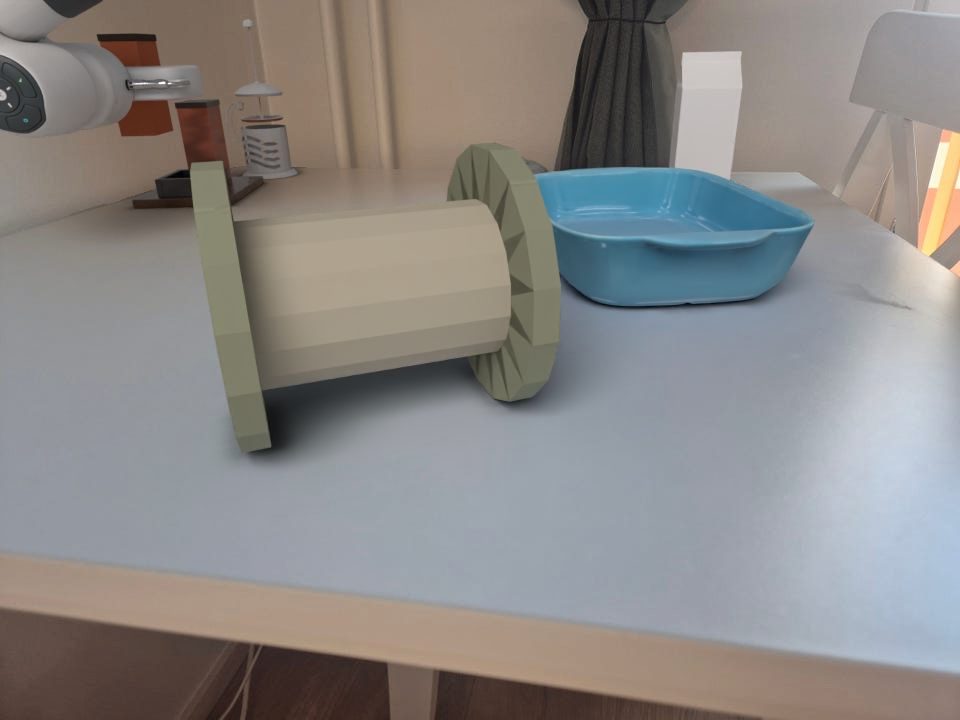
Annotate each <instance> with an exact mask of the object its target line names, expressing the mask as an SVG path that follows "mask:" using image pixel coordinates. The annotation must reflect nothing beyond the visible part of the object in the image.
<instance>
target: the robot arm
mask: <svg viewBox="0 0 960 720" xmlns="http://www.w3.org/2000/svg"><path fill="white" fill-rule="evenodd" d="M102 2H104V0H0V132H2V133H5V134H8V135H11V136H15V137H20V138H30V139H32V138H33V139H36V138H37V139H38V138H51V137H52V138H53V137H59V136H64V135H65V136H66V135H70V134H74V133H76V132H78V131H88V130H93V129H94V130H95V129H97V128H103V127H107V126H112V125H114V124H116V123H117V124H118V121H120V120H121V119H123V118H124V117H125V116H126V114H127V113H128V112H129V110H130V108H131V105H132V101H155V100H168V101H177V100H186V99H187V100H189V99H194V98H201V97H203V95H204V92H205V91H204V90H205V89H204V83H203V77H202V72H201V70H200V68H199V66H198V65H192V64H180V65H179V64H177V65H161V66H124V65H123V64H122V63H121V61H120V60H119V59H118V58H117V57H116V56H115V55H113V54H112V53H111V52H109V51H108V50H106V49H105V48H103V47H101V46H100V45H98V44H94V43H89V42H56V41H53V40H52V39H50V37H48V35H49V34H50V33H52V32H53V31H55V30H56V29H57V28H58V27H60V26H61V25H62V24H64V23H66V22H67V21H69V20H70V19H74V18H76V17H78V16H80V15H82V13H85V12H87V11H88V10H90V9H92V8H93V7H95V6H97V5H99V4H100V3H102Z"/></svg>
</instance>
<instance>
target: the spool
mask: <svg viewBox="0 0 960 720" xmlns="http://www.w3.org/2000/svg"><path fill="white" fill-rule="evenodd" d="M521 157H522V156H521V155H520V153H519V152H518V150H517V149H516V148H514V147H510V146H507V145H504V144H502V143H498V142H484V143H471V144H469V146H468V147H466V148H465V149H464V150H463V152H462V153H461V154H459V155H458V157H456V159H455V163H454V166H453V169H452V173H451V176H450V178H449V181H448V182H449V183H448V185H447V192H446V201H439V202H438V201H437V202H428V203H426V202H425V203H417V204H406V205H396V206H385V207H375V208H374V207H373V208H363V209H352V210H341V211H330V212H320V213H319V212H318V213H309V214H297V215H288V216H277V217H267V218H266V217H265V218H255V219H245V220H234V219H235V218H234V214H233V207H232V205H231V202H230V197H229V191H228V186H227V180H226V175H225V170H224V165H223V161H213V162H197V163H191V169H190V177H191V187H192V197H193V207H192V208H193V215H194V220H195V229H196V234H197V235H196V236H197V240H198V247H199V255H200V261H201V268H202V274H203V280H204V285H205V291H206V298H207V302H208V308H209V315H210V319H211V326H212V331H213V337H214V341H215V347H216V352H217V358H218V363H219V368H220V372H221V377H222V383H223V388H224V391H225V397H226V401H227V405H228V411H229V414H230V418H231V423H232V426H233V427H232V428H233V430H234V435H235V439H236V441H237V444H238V447H239V450H240V452H241V453H242V454H243V453H250V452H255V451H259V450H264V449H269V448H272V440H271V433H270V428H269V420H268V413H267V408H266V402H265V398H264V397H265V396H264V391H269V390H273V389H279V388H285V387H292V386H298V385H304V384H309V383H315V382H322V381H326V380H327V381H328V380H335V379H340V378H346V377H350V376H351V377H352V376H356V375H364V374H369V373H376V372H380V371H387V370H394V369H399V368H400V369H401V368H405V367H412V366H417V365H423V364H429V363H435V362H440V361H447V360H454V359H458V358H459V359H460V358H465V357H466V358H467V360H468V362H469V365H470V367H471V370H472V372H473V374H474V376H475V378H476V380H477V381H478V382H479V384H480V385H481V386H482V387H483V389H484V390H485V391H486V392H487V393H488V394H489V396H490V397H491V398H492V399H495V400H499V401H503V402H515V401H519V400H524V399H525V400H526V399H530V398H533V397H534V396H536V394H537V393H538V392H539V391H540V390H541V389H542V388H543V387H544V386H545V385H546V384H547V383H548V382H549V380H550V378H551V377H550V376H551V373H552V369H553V366H554V364H555V363H554V362H555V359H556V356H557V351H558V349H559V345H560V338H561V337H560V334H561V333H560V332H561V304H562V303H561V302H562V284H561V283H562V282H561V277H560V276H561V275H560V272H559V269H558V262H557V255H556V247H555V240H554V233H553V227H552V224H551V221H550V218H549V215H548V212H547V210H546V207H545V204H544V201H543V198H542V195H541V192H540V189H539V186H538V183H537V180H536V178H535V176H534V175H533V173H532V172H531V171H530V169H529V168H528V166H527V165H526V163H525V162H524V160H523V159H522V158H521Z"/></svg>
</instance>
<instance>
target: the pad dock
mask: <svg viewBox="0 0 960 720" xmlns="http://www.w3.org/2000/svg"><path fill="white" fill-rule="evenodd" d="M220 105H221V103H220V99H219V98H218V99H217V98H214V99H187V100H182V101H177V102H174V108H175V109H176V113H177V118H178V124H179V129H180V134H181V139H182V144H183V149H184V154H185V159H186V164H187V168H185V169H184V168H183V169H182V168H181V169H179V168H178V169H176V170H174V171H172V172H170V173H167V174H165V175H163V176H161V177H157V178H156V179H154V183H155V188H154V189H153V190H150V191H147V192H146V193H144V194H142V195H140V196H137V197H135V198H133V199H131V202H132V208H133V209H153V208H154V209H156V208H158V209H159V208H194V207H193V197H192V187H191V177H190V169H191V163H197V162H213V161H223V165H224V170H225V175H226V180H227V186H228V191H229V197H230V202H231V206H233V205H235V204H236V203H237V202H238V201H240V200H241V199H243V198H244V197H246V196H247V195H249V194H250V193H252V192H253V191H255V190H256V189H257V188H259V187H260V186H262V185H263V184H265V183H264V182H265V181H264V179H263V176H243V177H242V176H232V172H231V166H230V160H229V155H228V149H227V143H226V137H225V132H224V126H223V119H222V114H221V113H222V112H221V107H220Z"/></svg>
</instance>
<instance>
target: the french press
mask: <svg viewBox="0 0 960 720" xmlns="http://www.w3.org/2000/svg"><path fill="white" fill-rule="evenodd" d="M242 27H243V28H247V29H248V36H249V43H250V48H251V55H252V61H253V62H252V63H253V69H254V76H255V81H254V82H253V83H249V84H245V85H243V86H241V87H239V88H238V89H237V90H236V91H234V93H233V95H234V96H235V97H238V98H239V97H240V98H257V97H258V103H259V109H260V114H259V115H257V114H256V115H248V116H247V115H245V116H242V117H240V120H241V122H243V123H268V124H254V125H253V124H252V125H246V126H244V127H242V126H241V127H240V135H241V137H239V136H238V134H237V132H236V129H235V127H234V122H233V113H234V110H235V108H237V110H238V111H244V109H245V105H244V102H243V100H238V102H237V101H233V102H232V103H231V104H230V105H229V106H228V107H227V108H226V111H225V116H224V117H225V119H224V121H225V127H226V129H227V133H228V134H229V136H230V138H231V139H232V140H233V141H234V142H235V143H236V144H238V145H239V146H241V147H242V148H243V153H244V160H245V166H246V171H244V172H243V174H242V175H241V177H243V176H263V180H274V179H276V180H277V179H284V178H289V177H294V176H296V175H298V174H299V172H298V171H297V170H296V169H295V168H294V167H292V162H291V153H290V146H289V139H288V132H287V131H288V130H287V125H285V124H278V123H277V124H276V123H274V124H271V123H272V122H279V121H282V120H283V119H284V116H283V115H279V114H273V115H272V114H270V115H266V114H263V110H262V104H261V98H263V97H265V98H267V97H277V96H278V97H279V96H282V95H283V91H281V90H280V89H279V88H277V87H276V86H274V85H271V84H268V83H263V82H260V81H258V76H257V75H258V74H257V68H256V61H255V55H254V49H253V43H252V42H253V41H252V35H251V28H254V27H255V23H254V21H252V20H251V19H249V18H247V19H244V20H243V21H242ZM240 103H241V108H240V106H239V104H240ZM232 106H233V107H232ZM231 107H232V109H231ZM230 109H231V113H230V123H231V128H232V130H233V133H234V135H235V137H236V139H238V141H237V140H236V139H235V138H234V137H233V135H232V133H231V131H230V129H229V124H228V113H229V111H230ZM269 123H270V124H269ZM245 138H246V139H245ZM239 141H240V142H241V143H240V142H239ZM261 142H263V143H261ZM262 149H263V151H262ZM263 157H264V158H263ZM249 160H250V161H249Z"/></svg>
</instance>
